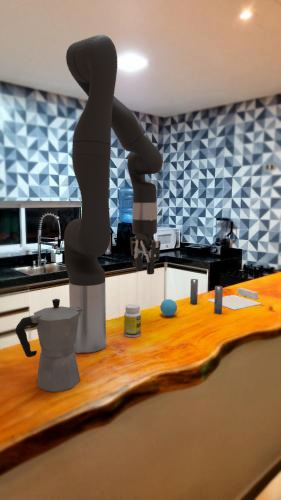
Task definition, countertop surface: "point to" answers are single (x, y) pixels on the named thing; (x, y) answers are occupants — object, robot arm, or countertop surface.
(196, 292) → the post left
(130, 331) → the supplement bottle
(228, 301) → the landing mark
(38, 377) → the coffeepot
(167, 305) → the ball
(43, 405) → the countertop surface
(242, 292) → the stopper wall
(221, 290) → the post right
